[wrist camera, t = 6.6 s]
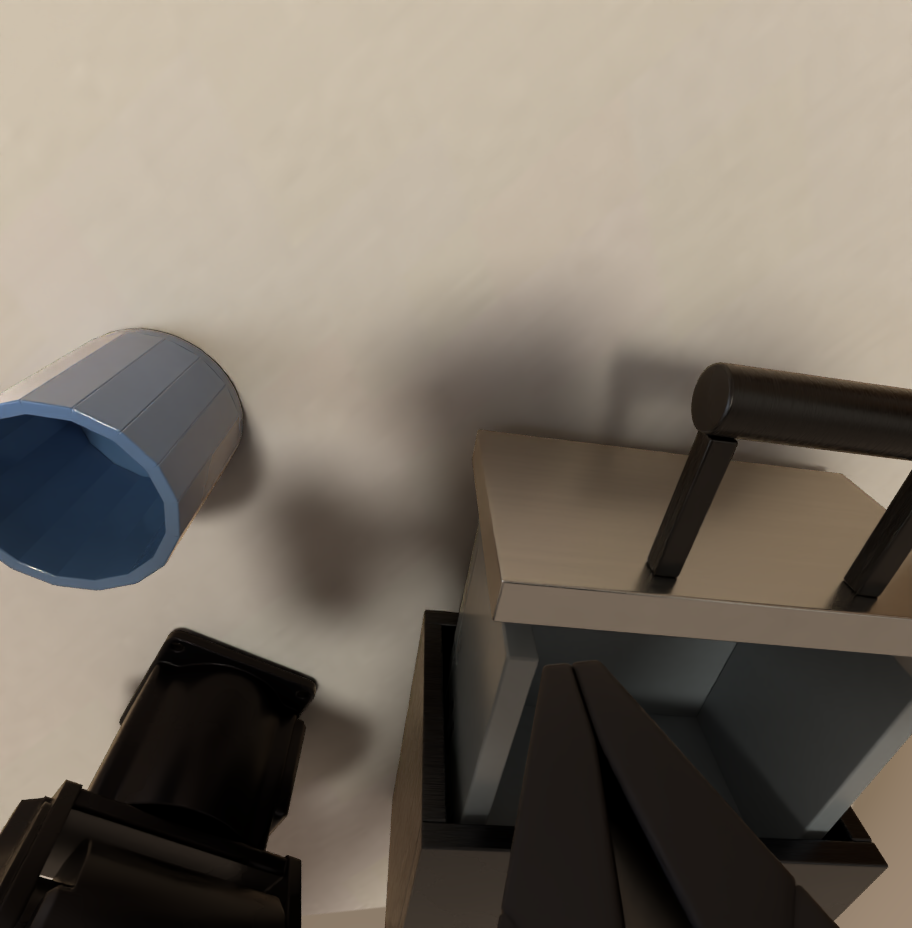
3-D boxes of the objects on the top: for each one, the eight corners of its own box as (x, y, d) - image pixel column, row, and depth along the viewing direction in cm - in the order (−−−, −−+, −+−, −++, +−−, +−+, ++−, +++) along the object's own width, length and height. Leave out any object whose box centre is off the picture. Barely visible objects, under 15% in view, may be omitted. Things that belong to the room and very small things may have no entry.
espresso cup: (49, 431, 18) (-83, 533, 14) (99, 293, 16) (-36, 355, 12) (206, 504, 20) (136, 618, 15) (271, 386, 18) (212, 475, 13)
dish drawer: (507, 270, 16) (558, 356, 9) (921, 333, 17) (1204, 445, 11) (427, 689, 24) (426, 881, 18) (709, 709, 25) (799, 894, 19)
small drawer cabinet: (424, 609, 23) (421, 847, 15) (745, 637, 24) (890, 867, 17) (392, 799, 29) (378, 1034, 22) (647, 812, 31) (719, 1036, 23)
